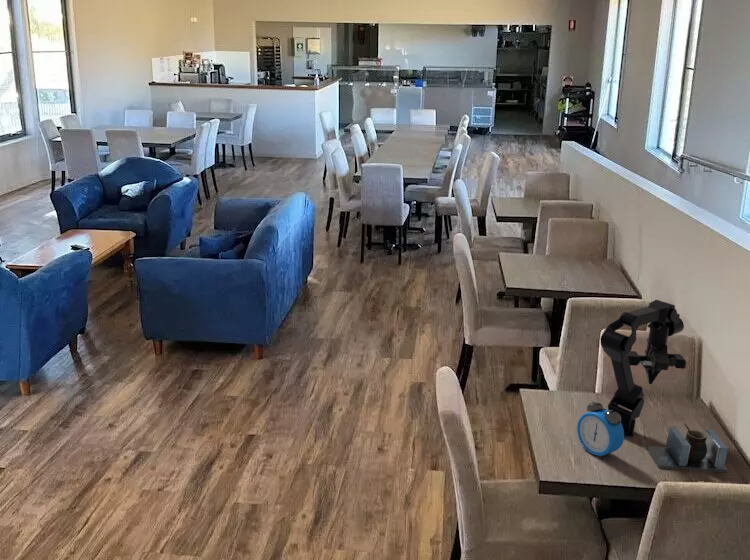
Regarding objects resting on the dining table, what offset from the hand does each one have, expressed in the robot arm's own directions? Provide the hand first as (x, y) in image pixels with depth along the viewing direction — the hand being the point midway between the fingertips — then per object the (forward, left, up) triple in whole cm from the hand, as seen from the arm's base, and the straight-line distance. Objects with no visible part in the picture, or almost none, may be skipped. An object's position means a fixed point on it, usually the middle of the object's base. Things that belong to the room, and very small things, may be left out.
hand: (650, 383), depth 244 cm
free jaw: (+2, -25, -12) cm, 28 cm away
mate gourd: (+6, -25, -12) cm, 28 cm away
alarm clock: (-21, -23, -13) cm, 34 cm away
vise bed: (+5, -25, -13) cm, 29 cm away
